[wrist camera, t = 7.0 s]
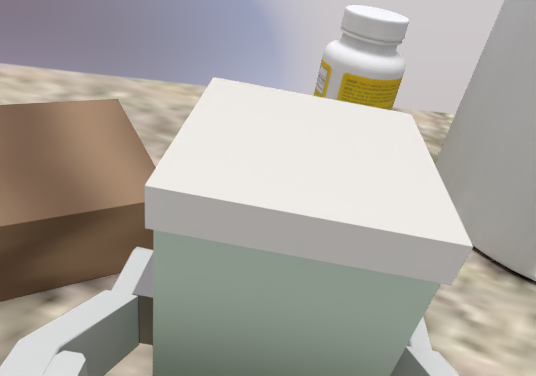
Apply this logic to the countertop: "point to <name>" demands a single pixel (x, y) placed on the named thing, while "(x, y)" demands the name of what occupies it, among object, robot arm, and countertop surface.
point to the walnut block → (69, 194)
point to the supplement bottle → (364, 59)
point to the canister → (295, 237)
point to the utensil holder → (498, 144)
